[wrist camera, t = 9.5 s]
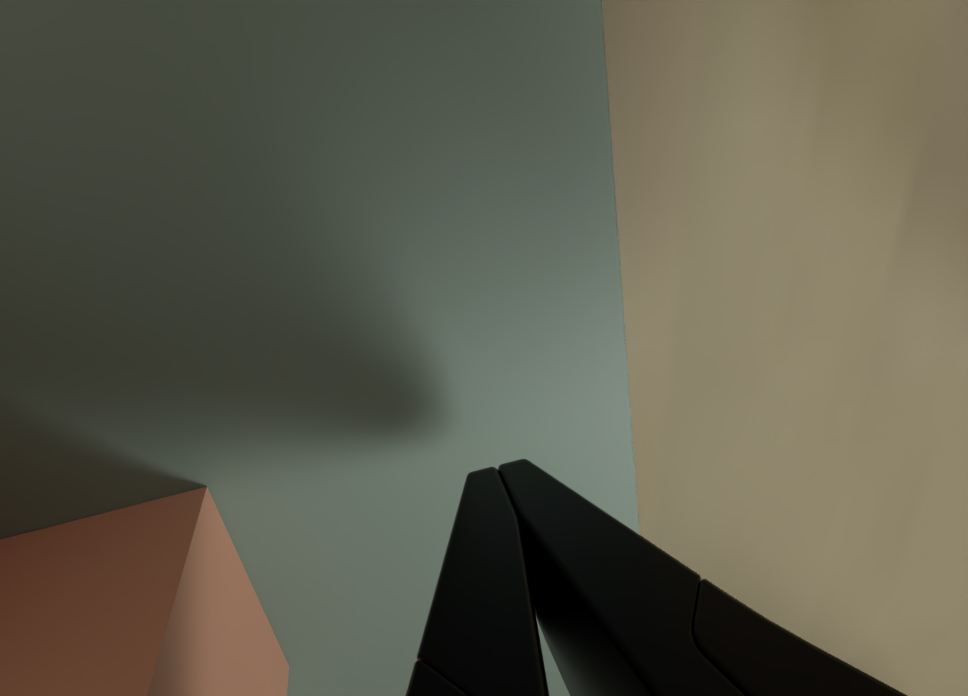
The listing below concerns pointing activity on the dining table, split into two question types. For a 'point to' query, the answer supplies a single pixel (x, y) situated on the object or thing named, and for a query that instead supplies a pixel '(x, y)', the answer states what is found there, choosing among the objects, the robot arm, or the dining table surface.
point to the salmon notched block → (135, 608)
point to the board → (310, 287)
